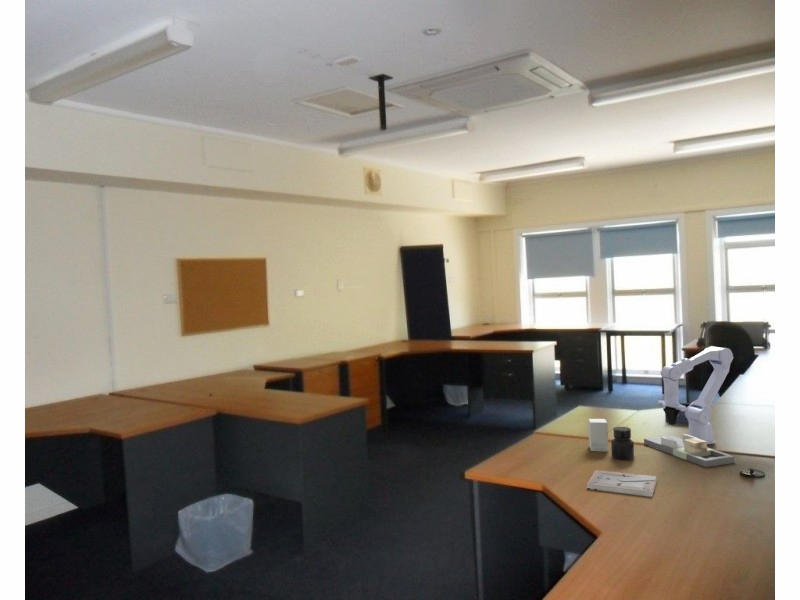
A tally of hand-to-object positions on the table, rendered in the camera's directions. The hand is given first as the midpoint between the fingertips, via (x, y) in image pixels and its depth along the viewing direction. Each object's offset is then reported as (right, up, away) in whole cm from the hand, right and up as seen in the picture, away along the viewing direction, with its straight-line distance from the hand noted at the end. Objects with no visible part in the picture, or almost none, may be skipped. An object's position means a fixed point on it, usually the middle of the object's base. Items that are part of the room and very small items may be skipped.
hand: (672, 424), depth 263 cm
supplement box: (-32, -11, 0) cm, 34 cm away
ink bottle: (-26, -11, -13) cm, 31 cm away
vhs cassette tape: (+24, -7, +37) cm, 45 cm away
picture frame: (-38, -14, -45) cm, 60 cm away
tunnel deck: (+1, -10, -11) cm, 15 cm away
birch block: (+3, -7, -16) cm, 18 cm away
